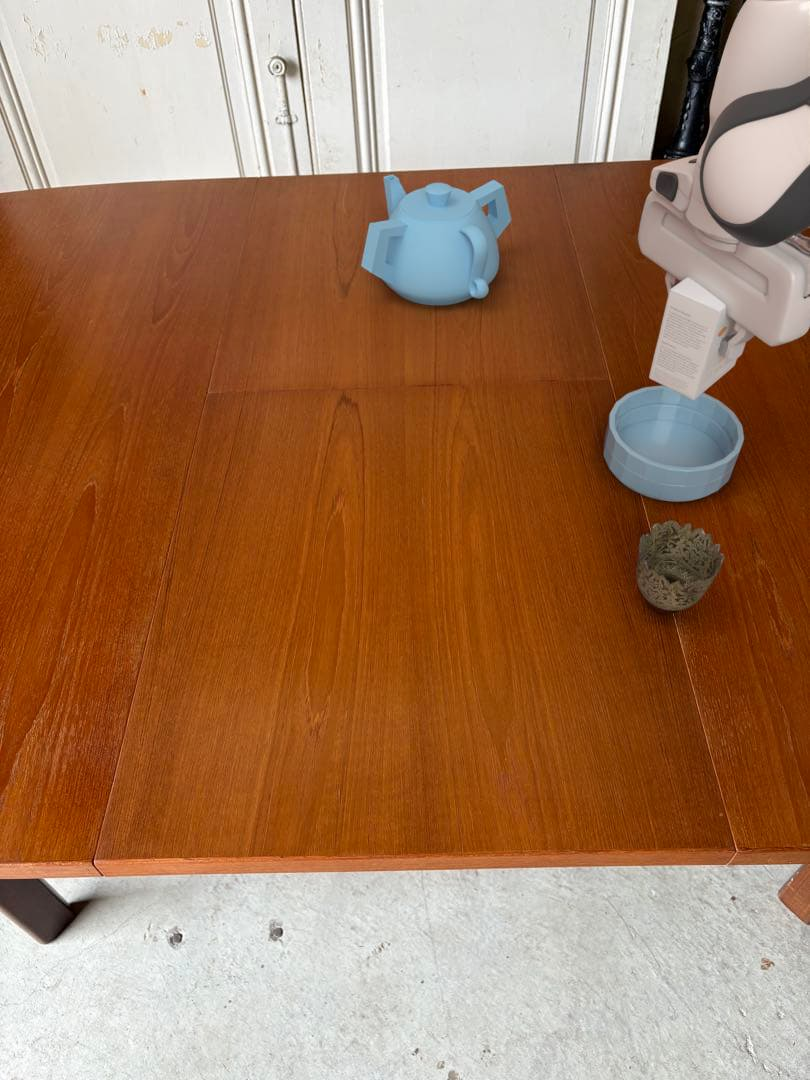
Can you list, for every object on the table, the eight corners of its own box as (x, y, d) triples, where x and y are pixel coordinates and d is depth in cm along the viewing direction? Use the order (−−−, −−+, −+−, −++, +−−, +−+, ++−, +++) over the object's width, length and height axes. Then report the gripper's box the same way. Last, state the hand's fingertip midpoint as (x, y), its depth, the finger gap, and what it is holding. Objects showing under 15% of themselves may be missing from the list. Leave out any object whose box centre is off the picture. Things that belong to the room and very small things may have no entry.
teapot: (509, 253, 125) (515, 162, 115) (489, 323, 113) (494, 228, 103) (389, 242, 129) (384, 153, 118) (356, 309, 116) (348, 216, 106)
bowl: (758, 477, 91) (772, 444, 88) (654, 520, 87) (664, 487, 84) (676, 405, 100) (685, 372, 96) (578, 441, 96) (584, 408, 92)
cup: (670, 647, 77) (690, 595, 71) (609, 601, 80) (623, 548, 74) (717, 604, 80) (740, 551, 74) (655, 562, 84) (672, 508, 78)
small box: (689, 345, 88) (714, 255, 80) (735, 367, 85) (766, 276, 77) (646, 379, 84) (667, 287, 76) (693, 402, 81) (721, 310, 73)
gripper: (861, 242, 65) (803, 381, 76) (694, 148, 78) (663, 279, 88) (801, 262, 64) (750, 402, 74) (640, 162, 76) (615, 294, 86)
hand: (702, 334), depth 81 cm, fingers closed on small box, 6 cm apart
